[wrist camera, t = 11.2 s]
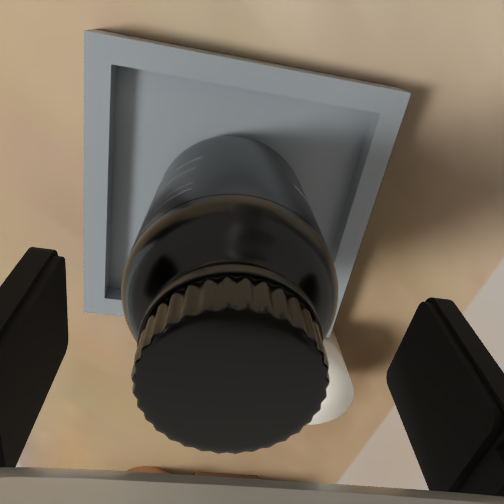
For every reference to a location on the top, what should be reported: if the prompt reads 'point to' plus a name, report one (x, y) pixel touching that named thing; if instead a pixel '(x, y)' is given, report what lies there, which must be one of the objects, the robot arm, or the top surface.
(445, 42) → the top surface
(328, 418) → the white egg
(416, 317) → the robot arm
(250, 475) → the walnut block
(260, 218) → the supplement bottle
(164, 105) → the tray
